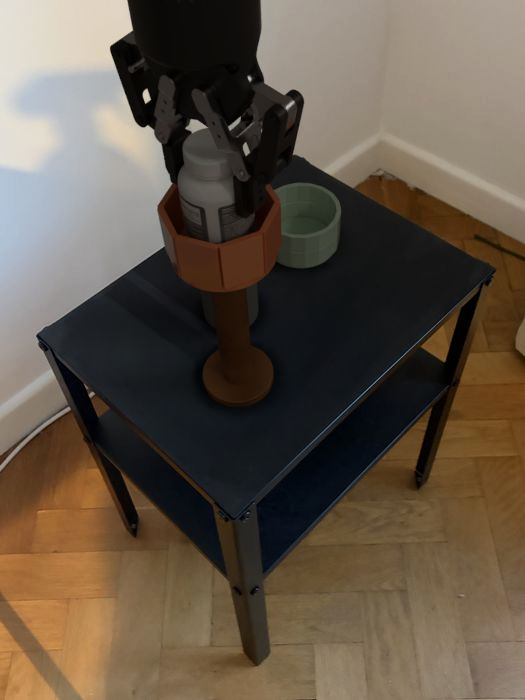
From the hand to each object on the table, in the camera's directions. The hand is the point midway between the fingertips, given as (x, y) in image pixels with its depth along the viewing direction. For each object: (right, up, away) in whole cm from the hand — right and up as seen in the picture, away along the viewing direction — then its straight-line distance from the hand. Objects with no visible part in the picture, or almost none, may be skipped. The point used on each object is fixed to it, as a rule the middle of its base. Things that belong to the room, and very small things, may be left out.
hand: (216, 193), depth 53 cm
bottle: (0, -7, +25) cm, 26 cm away
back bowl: (+8, +1, +30) cm, 31 cm away
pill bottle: (0, -3, +5) cm, 6 cm away
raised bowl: (0, -4, +5) cm, 6 cm away
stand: (+1, -14, +19) cm, 24 cm away
